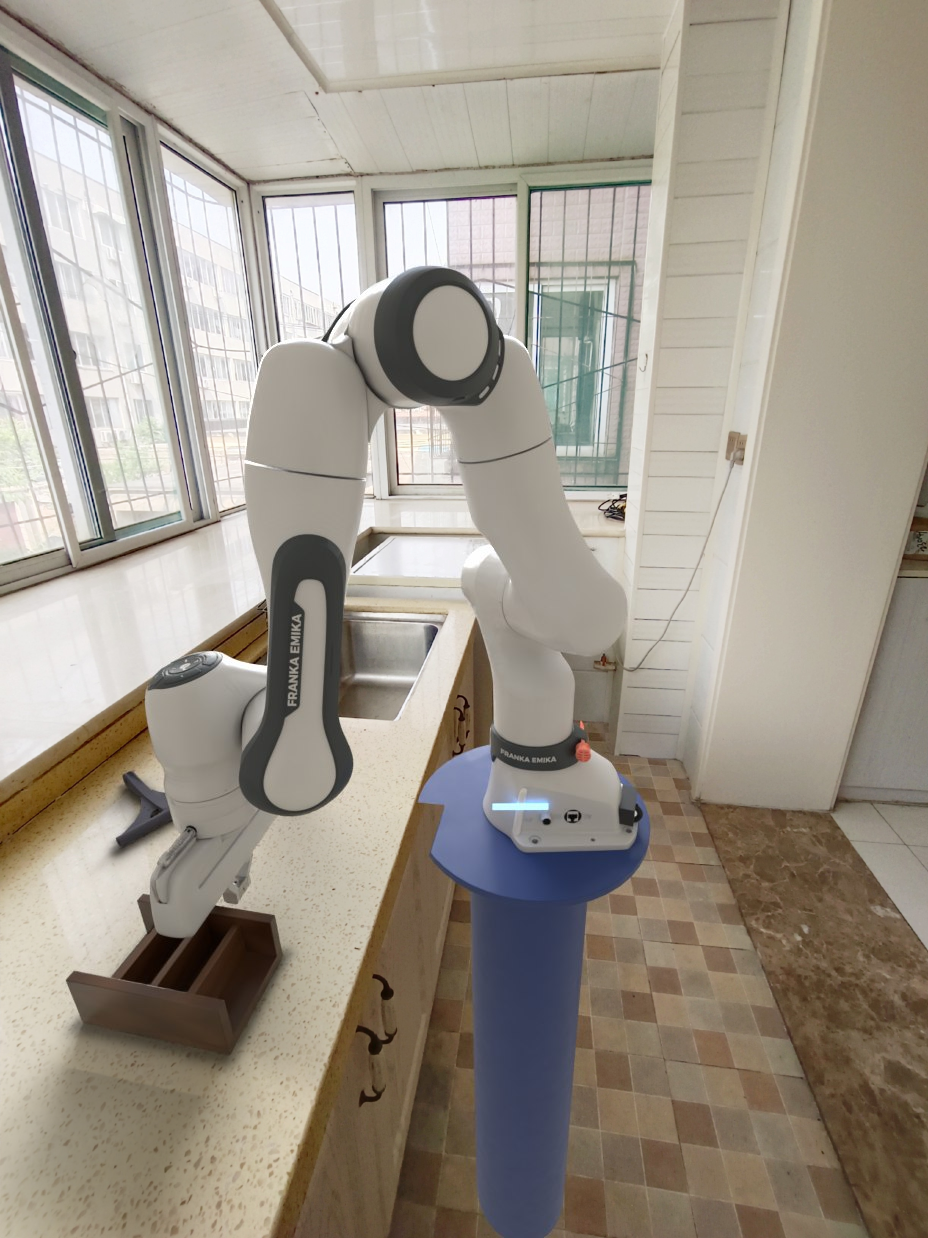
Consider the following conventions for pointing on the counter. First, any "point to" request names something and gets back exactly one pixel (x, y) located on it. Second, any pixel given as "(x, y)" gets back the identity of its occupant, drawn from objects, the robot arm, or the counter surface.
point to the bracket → (144, 810)
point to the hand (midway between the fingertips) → (238, 893)
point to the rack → (186, 981)
